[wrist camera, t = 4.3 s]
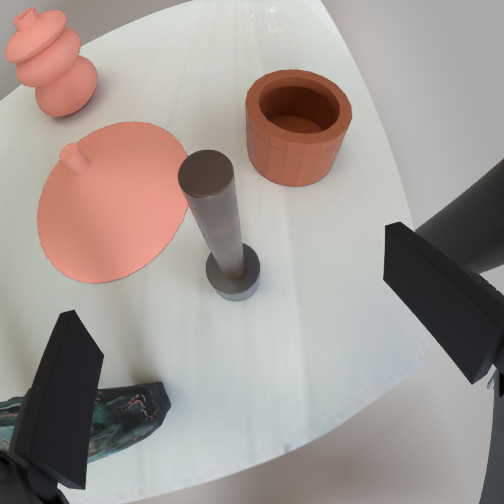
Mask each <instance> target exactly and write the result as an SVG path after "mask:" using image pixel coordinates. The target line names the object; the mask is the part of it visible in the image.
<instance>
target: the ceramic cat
mask: <svg viewBox="0 0 504 504" xmlns="http://www.w3.org/2000/svg"><path fill="white" fill-rule="evenodd" d="M22 399H23V397H13V398H11V399H9V400H8V401H4V402H0V450H1V451H2V452H4V453H5V454H6V455H7V453H8V449H9V445H10V441H11V437H12V433H13V429H14V426H15V422H17V420H16V419H17V415H18V413H19V409H20V405H21V402H22ZM170 408H171V403H170V401H169V398H168V396H167V394H166V392H165V389H164V386H163V383H162V382H156V383H150V384H140V385H134V386H128V387H120V388H108V389H97V394H96V400H95V406H94V413H93V419H92V426H91V434H90V442H89V451H88V460H87V463H90V462H93V461H95V460H98V459H101V458H103V457H106V456H109V455H111V454H114V453H116V452H119V451H121V450H123V449H126V448H128V447H130V446H132V445H133V444H135V443H137V442H139V441H141V440H143V439H145V438H147V437H148V436H149V435H151V434H152V433H153V432H154V431H155V430H156V429H157V428H158V427H160V426H161V425H162V422H163V420H164V418H165V416H166V414H167V412H168V411H169V409H170Z"/></svg>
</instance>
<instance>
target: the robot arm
mask: <svg viewBox="0 0 504 504" xmlns="http://www.w3.org/2000/svg"><path fill="white" fill-rule="evenodd" d="M383 280H384V281H385V282H386V283H387V284H388V285H389V287H390V288H391V289H392V290H393V291H394V292H395V293H396V294H397V295H398V296H399V298H400V299H401V300H402V301H403V302H404V303H405V304H406V305H407V307H408V308H409V309H410V310H411V311H412V312H413V313H414V315H415V316H416V317H417V318H418V319H419V320H420V321H421V323H422V324H423V325H424V326H425V327H426V328H427V330H428V331H429V332H430V333H431V334H432V336H433V337H434V338H435V339H436V340H437V342H438V343H439V344H440V345H441V346H442V347H443V349H444V350H445V351H446V353H447V354H448V355H449V356H450V358H451V359H452V360H453V361H454V362H455V364H456V365H457V366H458V368H459V369H460V370H461V371H462V373H463V374H464V375H465V377H466V378H467V379H468V381H469V382H470V383H471V384H474V383H475V382H477V381H478V380H480V379H481V378H483V377H484V376H485V375H487V373H488V371H489V369H490V367H491V366H492V364H494V365H495V367H496V368H497V369H496V371H495V373H494V374H493V376H492V378H491V379H490V381H489V383H488V386H487V389H489V388H490V387H491V385H492V384H493V382H494V387H493V389H494V408H493V424H492V434H491V443H490V451H489V457H488V464H487V470H486V475H485V480H484V486H483V490H482V494H481V498H480V502H479V504H504V296H503V295H502V294H501V293H500V292H499V291H496V288H495V287H493V286H492V285H491V284H489V282H488V281H487V280H485V279H484V278H483V277H482V276H480V275H479V274H477V273H475V272H473V271H471V270H468V269H466V270H464V271H463V270H462V269H461V268H460V267H459V266H457V265H456V264H455V263H454V262H452V261H451V260H450V259H449V258H448V257H446V256H445V255H444V254H442V253H441V252H440V251H439V250H437V249H436V248H435V247H434V246H432V245H431V244H430V243H428V242H427V241H426V240H424V239H423V238H422V237H420V236H419V235H418V234H416V233H415V232H414V231H412V230H411V229H410V228H408V227H407V226H405V225H404V224H403V223H401V222H396V223H393V224H389V225H386V226H385V256H384V276H383ZM103 358H104V354H103V353H102V352H101V350H100V349H99V347H98V346H97V344H96V343H95V341H94V340H93V338H92V337H91V335H90V334H89V332H88V331H87V329H86V328H85V326H84V325H83V323H82V321H81V320H80V318H79V317H78V315H77V313H76V312H75V310H71V311H67V312H63V313H60V315H59V318H58V320H57V322H56V324H55V327H54V329H53V331H52V334H51V336H50V339H49V341H48V344H47V346H46V349H45V351H44V354H43V356H42V359H41V362H40V364H39V367H38V370H37V373H36V375H35V378H34V381H33V384H32V387H31V388H29V390H28V391H27V393H26V394H25V396H24V397H23V399H22V402H21V405H20V409H19V413H18V415H17V419H16V420H17V422H15V426H14V429H13V433H12V437H11V441H10V445H9V449H8V453H7V455H6V454H5V453H4V452H2V451H1V450H0V504H69V502H68V500H67V499H66V497H65V496H64V494H63V493H62V491H61V490H60V489H58V488H57V485H58V482H59V483H60V484H62V485H64V486H65V487H67V488H71V489H81V490H85V485H86V472H87V460H88V451H89V442H90V434H91V426H92V419H93V413H94V406H95V400H96V394H97V389H98V383H99V378H100V373H101V368H102V363H103Z"/></svg>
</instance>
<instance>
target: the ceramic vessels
mask: <svg viewBox="0 0 504 504" xmlns="http://www.w3.org/2000/svg"><path fill="white" fill-rule="evenodd" d="M66 22H67V16H66V15H65V13H63V12H62V11H59V10H51V11H46V12H43V13H41V14H39V15H38V14H37V12H36V10H35V8H34V7H31V8H29V9H27V10H25V11H24V12H22V13H21V14H20V15H19V16H17V18H15V20H14V21H13V23H14V25H15V26H16V28H17V29H18V30H17V31H16V32H15V33H14V34H13V36H12V37H11V39H10V40H9V42H8V44H7V47H6V50H5V54H6V58H7V60H8V61H10V62H14V63H17V65H16V74H17V77H18V80H19V81H20V82H21V83H22V84H23V85H25V86H29V87H36V92H35V95H36V100H37V103H38V105H39V107H40V109H41V110H42V111H43V112H44V113H46V114H47V115H50V116H53V117H61V116H66V115H70V114H72V113H75V112H77V111H78V110H80V109H81V108H82V107H84V106H85V105H86V103H87V102H88V101H89V100H90V98H91V97H92V95H93V93H94V91H95V89H96V86H97V72H96V69H95V67H94V65H93V64H92V63H91V62H90V61H89V60H88V59H86V58H84V57H82V56H79V55H78V54H79V52H80V46H81V41H80V38H79V35H78V34H77V32H75V31H74V30H73V29H70V28H67V27H65V26H66ZM187 157H188V156H187V154H186V152H185V151H184V149H183V147H182V145H181V144H180V143H179V141H178V140H177V139H176V138H175V137H174V136H173V135H172V134H170V133H169V132H167V131H165V130H164V129H162V128H161V127H158V126H155V125H152V124H149V123H142V122H123V123H117V124H113V125H110V126H106V127H104V128H102V129H99V130H97V131H95V132H93V133H91V134H89V135H88V136H86V137H85V138H83V139H81V140H80V141H79V142H78V143H76V144H73V143H71V144H68V145H66V146H65V147H64V148H63V149H62V151H61V153H60V160H59V162H58V163H57V165H56V166H55V168H54V169H53V171H52V172H51V174H50V176H49V178H48V180H47V182H46V184H45V186H44V189H43V192H42V195H41V198H40V202H39V208H38V216H37V220H38V234H39V238H40V243H41V246H42V248H43V250H44V252H45V254H46V256H47V258H48V259H49V260H50V262H51V263H52V264H53V266H54V267H55V268H56V269H58V270H59V271H60V272H62V273H63V274H64V275H66V276H67V277H70V278H72V279H75V280H77V281H80V282H88V283H102V282H111V281H114V280H117V279H120V278H123V277H126V276H128V275H130V274H132V273H134V272H135V271H137V270H139V269H141V268H142V267H144V266H145V265H147V264H148V263H149V262H150V261H151V260H152V259H154V258H155V257H156V256H157V255H158V254H160V252H161V251H162V250H163V249H164V248H165V246H166V245H167V244H168V243H169V242H170V240H171V239H172V238H173V236H174V235H175V233H176V231H177V230H178V228H179V226H180V224H181V223H182V221H183V218H184V216H185V213H186V210H187V207H188V203H187V200H186V198H185V196H184V194H183V192H182V190H181V188H180V185H179V183H178V171H179V168H180V166H181V164H182V163H183V161H184V160H185V159H186V158H187Z"/></svg>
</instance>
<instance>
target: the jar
mask: <svg viewBox="0 0 504 504" xmlns="http://www.w3.org/2000/svg"><path fill="white" fill-rule="evenodd" d="M351 119H352V109H351V105H350V102H349V100H348V98H347V96H346V95H345V93H344V92H343V91H342V90H341V89H340V88H339V87H338V86H337V85H336V84H335V83H333V82H332V81H330V80H328V79H327V78H325V77H323V76H320V75H318V74H315V73H312V72H309V71H302V70H294V69H292V70H280V71H276V72H272V73H269V74H266V75H264V76H263V77H261V78H260V79H258V80H257V81H255V83H254V84H253V85H252V87H251V88H250V89H249V91H248V93H247V98H246V131H247V148H248V155H249V158H250V161H251V163H252V165H253V166H254V167H255V169H256V170H257V171H258V172H259V173H260V174H261V175H262V176H264V177H265V178H267V179H268V180H270V181H272V182H274V183H277V184H280V185H284V186H291V187H298V186H306V185H310V184H312V183H315V182H317V181H319V180H320V179H322V178H323V177H324V176H325V175H326V174H327V173H328V172H329V171H330V169H331V167H332V165H333V163H334V160H335V158H336V155H337V153H338V151H339V148H340V146H341V144H342V141H343V139H344V136H345V134H346V131H347V129H348V127H349V124H350V122H351Z"/></svg>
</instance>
